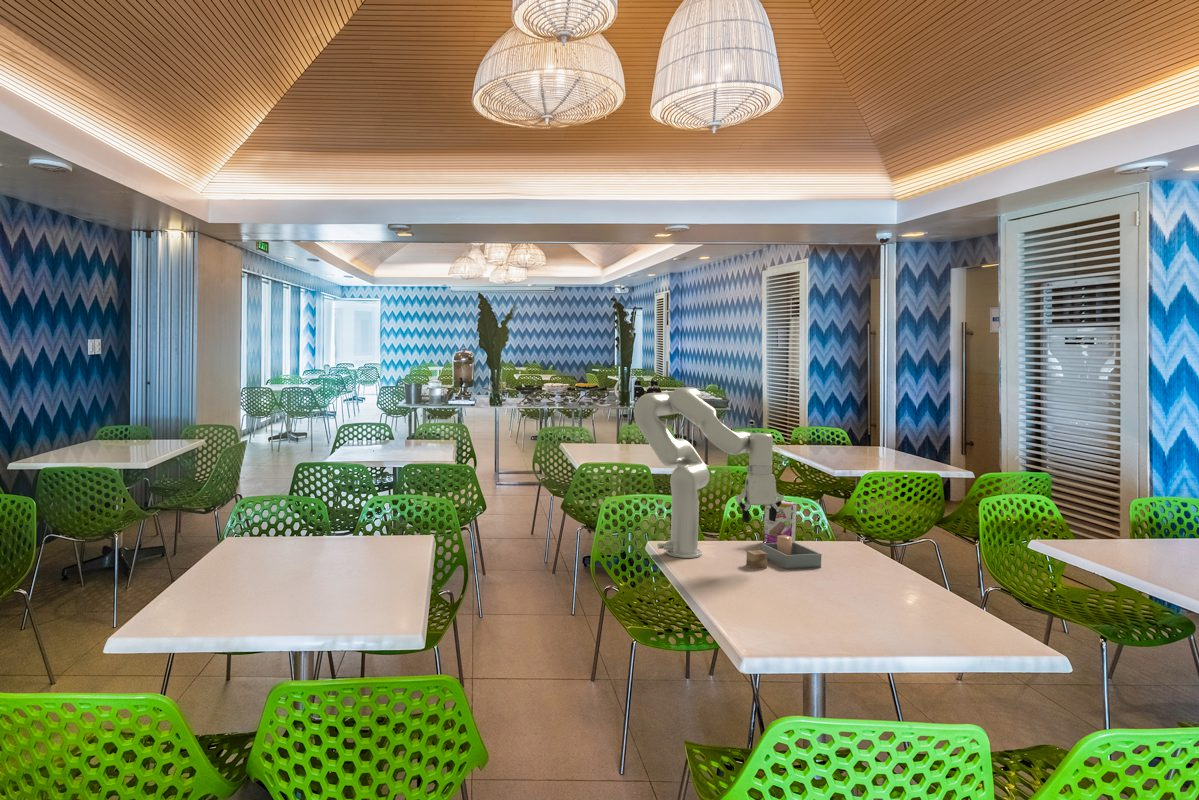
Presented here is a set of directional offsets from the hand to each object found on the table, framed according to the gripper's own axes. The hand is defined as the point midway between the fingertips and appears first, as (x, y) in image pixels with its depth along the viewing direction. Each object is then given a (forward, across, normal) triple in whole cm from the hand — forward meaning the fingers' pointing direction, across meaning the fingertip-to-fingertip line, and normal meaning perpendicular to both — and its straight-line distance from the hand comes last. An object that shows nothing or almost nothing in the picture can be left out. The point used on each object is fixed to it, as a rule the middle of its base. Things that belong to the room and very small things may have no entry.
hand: (759, 521), depth 252 cm
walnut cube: (+15, 0, 0) cm, 15 cm away
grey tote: (+15, +15, +4) cm, 22 cm away
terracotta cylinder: (+15, +15, +9) cm, 23 cm away
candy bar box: (+16, +24, +28) cm, 40 cm away
